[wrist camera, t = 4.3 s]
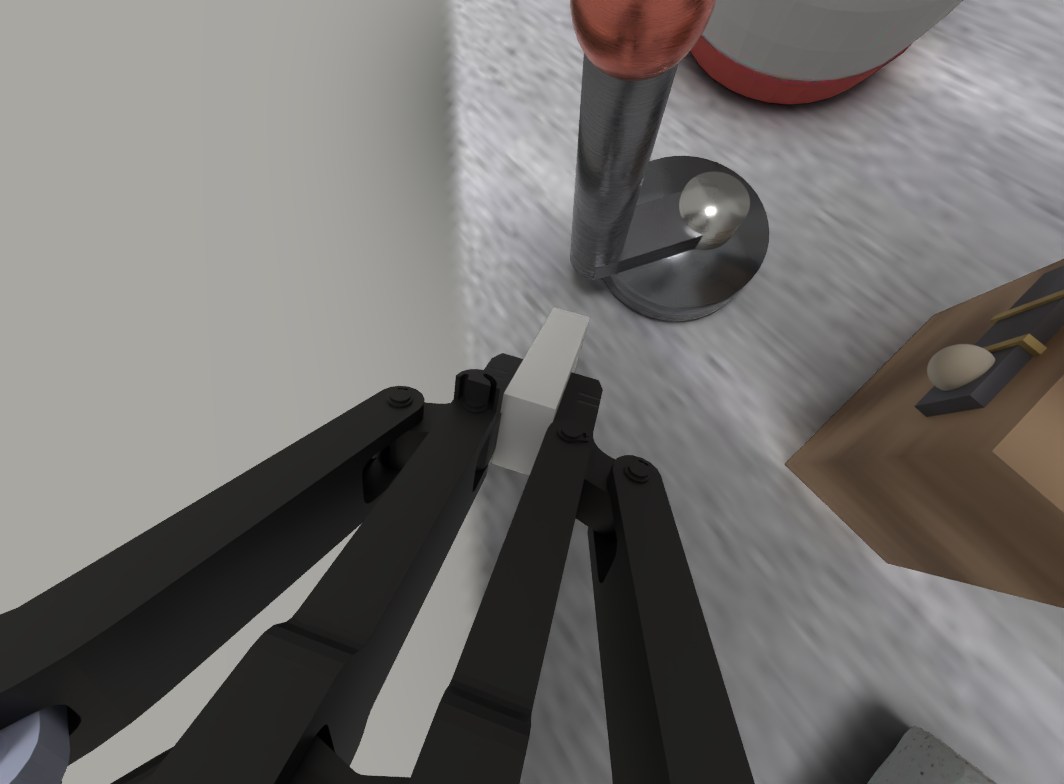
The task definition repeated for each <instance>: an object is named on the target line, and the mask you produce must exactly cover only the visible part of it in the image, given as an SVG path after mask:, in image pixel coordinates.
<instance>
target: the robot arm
mask: <svg viewBox="0 0 1064 784" xmlns="http://www.w3.org/2000/svg"><path fill="white" fill-rule="evenodd" d="M589 319H590V317H588V316H584V315H581V314H577V313H574V312H570V311H566V310H563V309H559V308H556V307H554V308H553V309H552V311H551V313H550V315H549V316H548V318H547V320H546V321H545V323H544V325H543V327H542V328H541V330H540V332H539V333H538V335H537V337H536V339H535V340H534V342H533V344H532V346H531V347H530V349H529V351H528V352H527V354H526V356H525V358H524V359H521V358H517V357H514V356H510V355H507V354H504V353H502V354H500V355H498V356H496V357H494V358H492V359H491V361H490V362H489V363H488V365H487V367H486V368H485V369H484V370H479V369H471V370H465V371H462V372H460V373H459V374H458V375H456V381H455V392H454V400H453V401H452V402H451V403H448V404H435V403H434V404H433V403H424V397H423V395H422V393H420V392H419V391H418V390H416V389H413V388H410V387H406V386H395V387H390V388H387V389H384V390H382V391H380V392H379V393H377V394H375V395H374V396H372V397H370V398H369V399H367V400H365V401H363V402H362V403H360V404H358V405H357V406H355V407H354V408H352V409H350V410H348V411H347V412H345V413H343V414H342V415H340V416H339V417H337V418H335V419H333V420H332V421H330V422H328V423H327V424H325V425H323V426H322V427H320V428H318V429H317V430H315V431H313V432H312V433H310V434H308V435H307V436H305V437H303V438H301V439H300V440H298V441H296V442H295V443H293V444H291V445H290V446H288V447H286V448H285V449H283V450H282V451H280V452H278V453H276V454H275V455H273V456H272V457H270V458H268V459H266V460H265V461H263V462H261V463H260V464H258V465H256V466H255V467H253V468H251V469H250V470H248V471H246V472H245V473H243V474H241V475H239V476H238V477H236V478H234V479H233V480H231V481H230V482H228V483H226V484H224V485H223V486H221V487H219V488H218V489H216V490H214V491H213V492H211V493H209V494H208V495H206V496H204V497H203V498H201V499H199V500H198V501H196V502H194V503H192V504H191V505H189V506H188V507H186V508H184V509H182V510H181V511H179V512H177V513H176V514H174V515H173V516H171V517H169V518H167V519H166V520H164V521H162V522H161V523H159V524H157V525H156V526H154V527H152V528H151V529H149V530H147V531H146V532H144V533H142V534H141V535H139V536H137V537H135V538H134V539H132V540H130V541H129V542H127V543H125V544H124V545H122V546H120V547H119V548H117V549H115V550H114V551H112V552H110V553H109V554H107V555H105V556H104V557H102V558H100V559H99V560H97V561H96V562H94V563H92V564H90V565H89V566H87V567H85V568H83V569H82V570H80V571H79V572H77V573H75V574H74V575H72V576H70V577H68V578H67V579H65V580H64V581H62V582H60V583H58V584H57V585H55V586H54V587H52V588H50V589H48V590H47V591H45V592H43V593H42V594H40V595H38V596H37V597H35V598H33V599H32V600H30V601H28V602H27V603H25V604H23V605H21V606H20V607H18V608H16V609H13V610H11V611H8V612H6V613H3V614H1V615H0V784H62V778H63V775H64V773H65V771H66V769H67V766H69V765H70V764H72V763H73V762H75V761H77V760H78V759H79V758H81V757H83V756H84V755H86V754H88V753H89V752H91V751H93V750H94V749H95V748H97V747H98V746H100V745H101V744H103V743H104V742H105V741H107V740H108V739H109V738H111V737H112V736H114V735H115V734H116V733H118V732H119V731H121V730H122V729H123V728H125V727H126V726H128V725H129V724H131V723H132V722H133V721H134V720H136V719H137V718H138V717H139V716H140V715H142V714H143V713H144V712H145V711H147V710H148V709H149V708H150V707H151V706H153V705H154V704H155V703H156V702H157V701H159V700H160V699H161V698H162V697H164V696H165V695H166V694H167V693H168V692H169V691H171V690H172V689H173V688H174V687H175V686H176V685H177V684H178V683H180V682H181V681H182V680H183V679H184V678H185V677H187V676H188V675H189V674H190V673H191V672H192V671H193V670H195V669H196V668H197V667H198V666H199V665H200V664H201V663H203V662H204V661H205V660H206V659H207V658H208V657H209V656H210V655H212V654H213V653H214V652H215V651H216V650H217V649H219V647H221V646H222V645H223V644H224V643H225V642H227V641H228V640H229V639H230V638H231V637H232V636H233V635H235V634H236V633H237V632H238V631H239V630H240V629H241V628H243V627H244V626H245V625H246V624H247V623H248V622H249V621H251V620H252V619H253V618H254V617H255V616H256V615H257V614H259V613H260V612H261V611H262V610H263V609H264V608H265V607H267V606H268V605H269V604H270V603H271V602H272V601H273V600H275V599H276V598H277V597H278V596H279V595H280V594H281V593H283V592H284V591H285V590H286V589H287V588H288V587H289V586H291V585H292V584H293V583H294V582H295V581H296V580H297V579H299V578H300V577H301V576H302V575H303V574H304V573H305V572H307V570H309V569H310V568H311V567H312V566H313V565H315V564H316V563H317V562H318V561H319V560H320V559H321V558H323V557H324V556H325V555H326V554H327V553H328V552H329V551H331V550H332V549H333V548H334V547H335V546H336V545H337V544H339V543H340V542H341V541H342V540H343V539H344V538H345V537H347V536H348V535H349V534H350V533H351V532H352V531H353V530H354V529H356V528H357V527H358V526H359V525H360V524H361V523H362V524H361V526H360V527H359V528H358V530H357V531H356V532H355V534H354V535H353V536H352V538H351V539H350V540H349V542H348V543H347V544H346V546H345V547H344V549H343V550H342V551H341V553H340V554H339V555H338V557H337V558H336V560H335V561H334V562H333V563H332V565H331V566H330V568H329V569H328V571H327V572H326V573H325V574H324V576H323V577H322V578H321V580H320V581H319V582H318V584H317V585H316V587H315V588H314V589H313V591H312V592H311V593H310V595H309V596H308V597H307V599H306V600H305V602H304V603H303V604H302V605H301V607H300V608H299V610H298V611H297V612H296V613H295V614H294V615H293V617H292V618H291V619H289V620H288V621H287V622H284V623H280V624H276V625H273V626H272V627H271V628H269V629H268V630H267V631H265V632H264V633H263V634H262V635H261V636H260V637H259V639H258V640H257V641H256V642H255V643H254V644H253V645H252V647H251V648H250V649H249V651H248V652H247V653H246V654H245V656H244V657H243V659H242V660H241V661H240V662H239V663H238V665H237V666H236V667H235V669H234V670H233V671H232V672H231V674H230V675H229V676H228V678H227V679H226V680H225V681H224V683H223V684H222V685H221V687H220V688H219V689H218V690H217V692H216V693H215V694H214V696H213V697H212V698H211V699H210V701H209V702H208V704H207V705H206V706H205V707H204V709H203V710H202V711H201V713H200V714H199V715H198V716H197V718H196V719H195V720H194V721H193V723H192V724H191V725H190V727H189V728H188V729H187V731H186V732H185V733H184V734H183V736H182V737H181V738H180V739H179V741H178V742H177V743H176V745H175V746H174V747H172V748H170V749H169V750H167V751H165V752H163V753H161V754H160V755H158V756H156V757H155V758H153V759H151V760H150V761H148V762H146V763H144V764H143V765H141V766H140V767H138V768H136V769H134V770H133V771H131V772H129V773H128V774H126V775H124V776H123V777H121V778H119V779H118V780H116V781H114V782H113V783H111V784H519V782H520V778H521V773H522V768H523V764H524V759H525V755H526V750H527V745H528V740H529V735H530V728H531V713H532V708H533V703H534V699H535V694H536V690H537V685H538V681H539V676H540V672H541V668H542V663H543V659H544V654H545V650H546V645H547V641H548V637H549V632H550V628H551V623H552V619H553V615H554V610H555V606H556V601H557V597H558V592H559V588H560V584H561V579H562V575H563V570H564V566H565V562H566V557H567V553H568V548H569V544H570V539H571V535H572V531H573V526H574V522H575V518H576V519H578V520H579V521H581V522H582V523H584V524H585V525H587V526H588V540H589V550H590V560H591V570H592V580H593V590H594V600H595V610H596V620H597V630H598V640H599V650H600V660H601V669H602V679H603V689H604V699H605V709H606V719H607V729H608V739H609V749H610V759H611V769H612V779H613V784H755V783H754V780H753V777H752V773H751V770H750V767H749V763H748V760H747V757H746V754H745V750H744V747H743V744H742V740H741V737H740V734H739V731H738V727H737V724H736V721H735V717H734V714H733V711H732V708H731V704H730V701H729V698H728V694H727V691H726V688H725V685H724V681H723V678H722V675H721V671H720V668H719V665H718V662H717V658H716V655H715V652H714V648H713V645H712V642H711V639H710V635H709V632H708V629H707V626H706V622H705V619H704V616H703V612H702V609H701V606H700V603H699V599H698V596H697V593H696V589H695V586H694V583H693V580H692V576H691V573H690V570H689V566H688V563H687V560H686V557H685V553H684V550H683V547H682V543H681V540H680V537H679V534H678V530H677V527H676V524H675V520H674V517H673V514H672V511H671V507H670V504H669V501H668V497H667V494H666V491H665V488H664V484H663V481H662V478H661V475H660V473H659V472H658V470H657V469H656V468H655V467H654V466H653V465H652V464H651V463H650V462H648V461H646V460H644V459H643V458H640V457H636V456H633V455H624V456H621V457H619V458H617V459H616V460H615V459H613V458H611V457H609V456H608V455H606V454H605V453H603V452H602V451H601V450H600V449H599V448H598V447H597V445H596V444H595V442H594V439H593V430H594V426H595V422H596V417H597V413H598V408H599V404H600V399H601V395H602V391H603V389H602V387H601V385H600V382H599V380H596V379H592V378H589V377H585V376H582V375H579V374H575V373H574V372H575V369H576V365H577V362H578V358H579V355H580V351H581V347H582V344H583V340H584V337H585V333H586V330H587V326H588V323H589ZM492 455H493V458H492V464H494V465H497V466H501V467H504V468H507V469H510V470H513V471H516V472H519V473H522V474H525V475H528V476H529V478H528V481H527V483H526V486H525V489H524V491H523V494H522V497H521V499H520V502H519V504H518V507H517V510H516V512H515V515H514V518H513V520H512V523H511V525H510V528H509V531H508V533H507V536H506V539H505V541H504V544H503V546H502V549H501V552H500V554H499V557H498V560H497V562H496V565H495V567H494V570H493V573H492V575H491V578H490V581H489V583H488V586H487V588H486V591H485V594H484V596H483V599H482V602H481V604H480V607H479V610H478V612H477V615H476V617H475V620H474V623H473V625H472V628H471V631H470V633H469V636H468V638H467V641H466V644H465V646H464V649H463V652H462V654H461V657H460V660H459V662H458V665H457V668H456V670H455V673H454V675H453V678H452V680H451V682H450V684H449V686H448V687H447V689H446V690H445V693H444V694H443V697H442V699H441V701H440V703H439V706H438V708H437V711H436V713H435V716H434V718H433V721H432V723H431V726H430V729H429V731H428V734H427V736H426V739H425V742H424V744H423V747H422V749H421V752H420V755H419V757H418V760H417V762H416V765H415V767H414V770H413V773H412V775H411V778H409V777H387V776H367V775H360V774H358V773H356V772H355V771H354V770H353V769H351V768H350V767H349V766H350V764H351V762H352V760H353V758H354V755H355V753H356V751H357V749H358V746H359V744H360V741H361V738H362V735H363V733H364V729H365V726H366V723H367V719H368V716H369V714H370V711H371V709H372V706H373V704H374V702H375V700H376V698H377V696H378V694H379V692H380V690H381V688H382V686H383V684H384V682H385V680H386V678H387V676H388V674H389V672H390V669H391V668H392V665H393V663H394V661H395V659H396V657H397V655H398V653H399V651H400V649H401V647H402V645H403V643H404V641H405V639H406V637H407V635H408V633H409V631H410V629H411V627H412V625H413V623H414V620H415V618H416V617H417V615H418V613H419V611H420V608H421V607H422V605H423V603H424V600H425V598H426V596H427V594H428V592H429V590H430V588H431V586H432V584H433V582H434V580H435V578H436V576H437V574H438V572H439V570H440V568H441V566H442V564H443V562H444V560H445V558H446V556H447V554H448V552H449V550H450V548H451V546H452V544H453V542H454V540H455V538H456V535H457V533H458V531H459V529H460V527H461V525H462V523H463V521H464V519H465V517H466V515H467V513H468V511H469V509H470V507H471V505H472V503H473V501H474V499H475V497H476V495H477V493H478V491H479V489H480V487H481V485H482V483H483V481H484V479H485V477H486V473H487V468H488V463H489V461H490V459H491V457H492Z"/></svg>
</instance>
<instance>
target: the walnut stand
mask: <svg viewBox="0 0 1064 784" xmlns="http://www.w3.org/2000/svg"><path fill="white" fill-rule="evenodd" d="M785 465H786V466H787V467H788V468H789V469H790V470H791V471H792V472H793V473H794V474H795V475H796V476H797V477H798V478H799V479H801V480H802V481H803V482H804V483H805V484H806V485H807V486H808V487H809V488H810V489H811V490H812V491H813V492H814V493H815V494H816V495H817V496H818V497H819V498H820V499H821V500H822V501H823V502H824V503H825V504H826V505H828V506H829V507H830V508H831V509H832V510H833V511H834V512H835V513H836V514H837V515H838V516H839V517H840V518H841V519H842V520H843V521H844V522H845V523H846V524H847V525H848V526H849V527H850V528H851V529H852V530H853V531H855V532H856V533H857V534H858V535H859V536H860V537H861V538H862V539H863V540H864V541H865V542H866V543H867V544H868V545H869V546H870V547H871V548H872V549H873V550H874V551H875V552H876V553H877V554H878V555H879V556H880V557H881V558H883V559H884V560H885V561H886V562H887V563H889V564H893V565H896V566H900V567H904V568H908V569H912V570H916V571H920V572H924V573H928V574H932V575H936V576H940V577H944V578H948V579H952V580H955V581H959V582H963V583H967V584H971V585H975V586H979V587H983V588H987V589H991V590H995V591H999V592H1003V593H1007V594H1011V595H1015V596H1018V597H1022V598H1026V599H1030V600H1034V601H1038V602H1042V603H1046V604H1050V605H1054V606H1058V607H1062V608H1064V259H1063V260H1060V261H1058V262H1056V263H1053V264H1051V265H1049V266H1046V267H1044V268H1042V269H1039V270H1037V271H1035V272H1033V273H1030V274H1028V275H1026V276H1023V277H1021V278H1019V279H1016V280H1014V281H1012V282H1009V283H1007V284H1005V285H1002V286H1000V287H998V288H995V289H993V290H991V291H989V292H986V293H984V294H982V295H979V296H977V297H975V298H972V299H970V300H968V301H965V302H963V303H961V304H958V305H956V306H954V307H951V308H949V309H947V310H945V311H942V312H940V313H938V314H935V315H934V316H933V317H932V318H931V319H930V320H929V321H928V322H927V323H926V324H925V325H924V326H923V327H922V328H921V329H920V330H919V331H918V332H917V333H916V334H915V335H914V336H913V337H912V338H911V339H910V340H909V341H908V342H907V343H906V344H905V345H904V346H903V347H902V348H901V349H900V350H899V351H898V352H897V353H896V354H895V355H894V356H893V357H892V358H891V359H890V360H889V361H888V362H887V363H886V364H885V365H884V366H883V367H882V368H881V369H880V370H879V371H878V372H877V373H876V374H875V375H874V376H873V377H872V378H871V379H870V380H869V381H867V382H866V383H865V384H864V385H863V386H862V387H861V388H860V389H859V390H858V391H857V392H856V393H855V394H854V395H853V396H852V397H851V398H850V399H849V400H848V401H847V402H846V403H845V404H844V405H843V406H842V407H841V408H840V409H839V410H838V411H837V412H836V413H835V414H834V415H833V416H832V417H831V418H830V419H829V420H828V421H827V422H826V423H825V424H824V425H823V426H822V427H821V428H820V429H819V430H818V431H817V432H816V433H815V434H814V435H813V436H812V437H811V438H810V439H809V440H808V441H807V442H806V443H805V444H804V445H803V446H802V447H801V448H800V449H799V450H798V451H797V452H796V453H795V454H794V455H793V456H792V457H791V458H790V459H789V460H788V461H787V462H786V463H785Z"/></svg>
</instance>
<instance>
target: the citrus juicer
mask: <svg viewBox="0 0 1064 784" xmlns="http://www.w3.org/2000/svg"><path fill="white" fill-rule="evenodd" d="M962 1H963V0H716V3H715V7H714V10H713V12H712V15H711V17H710V20H709V22H708V24H707V26H706V28H705V30H704V32H703V33H702V35H701V37H700V38H699V40H698V41H697V43H696V44H695V45H694V47H693V48H692V49H691V53H692V54H693V56H694V57H695V59H696V60H697V62H698V64H699V65H700V66H701V67H702V68H703V69H704V70H705V71H706V72H707V73H708V74H709V75H710V76H711V77H712V78H713V79H715V80H716V81H718V82H719V83H721V84H722V85H724V86H725V87H727V88H728V89H730V90H732V91H735V92H737V93H739V94H741V95H744V96H746V97H749V98H753V99H756V100H760V101H763V102H769V103H780V104H800V103H811V102H815V101H819V100H823V99H827V98H830V97H833V96H835V95H837V94H840V93H842V92H844V91H846V90H848V89H850V88H851V87H853V86H855V85H856V84H858V83H859V82H861V81H863V80H864V79H866V78H867V77H869V76H870V75H872V74H873V73H875V72H876V71H877V70H879V69H880V68H882V67H883V66H885V65H886V64H888V63H889V62H891V61H892V60H893V59H895V58H896V57H898V56H899V55H901V54H902V53H903V52H904V51H905V50H906V49H907V48H908V47H909V46H910V45H911V44H912V43H913V42H914V41H915V40H916V39H918V38H919V37H920V36H922V35H923V34H924V33H925V32H927V31H928V30H929V29H930V28H932V27H933V26H934V25H935V24H937V23H938V22H939V21H940V20H942V19H943V18H944V17H946V16H947V15H948V14H949V13H950V12H951V11H952V10H953V9H954V8H955V7H956V6H957V5H959V4H960V3H961V2H962Z"/></svg>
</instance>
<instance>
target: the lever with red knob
mask: <svg viewBox="0 0 1064 784" xmlns="http://www.w3.org/2000/svg"><path fill="white" fill-rule="evenodd" d="M715 3H716V0H570V8H571V15H572V22H573V27H574V30H575V33H576V36H577V39H578V41H579V44H580V46H581V48H582V50H583V52H584V61H583V76H582V91H581V105H580V120H579V134H578V149H577V164H576V178H575V193H574V208H573V222H572V237H571V252H570V259H571V263H572V265H573V267H574V269H575V270H576V271H577V272H578V273H579V274H581V275H582V276H584V277H587V278H591V279H593V281H594V280H597V279H601V278H604V280H605V282H606V284H607V285H608V287H609V288H610V290H611V291H612V292H613V293H614V294H615V296H616V297H617V298H619V299H620V300H621V301H622V302H623V303H624V304H626V305H627V306H628V307H630V308H631V309H633V310H635V311H637V312H639V313H641V314H643V315H646V316H648V317H651V318H655V319H659V320H666V321H686V320H693V319H697V318H701V317H704V316H706V315H709V314H711V313H713V312H715V311H717V310H718V309H720V308H721V307H723V306H724V305H726V304H727V303H728V302H729V301H730V300H731V299H732V298H733V297H734V296H735V295H736V294H737V293H738V292H739V291H740V290H741V289H742V288H743V287H744V286H745V285H746V284H747V283H748V282H749V281H750V280H751V279H752V278H753V276H754V275H755V274H756V272H757V271H758V270H759V268H760V266H761V264H762V262H763V260H764V257H765V255H766V252H767V247H768V243H769V226H768V220H767V215H766V212H765V209H764V207H763V204H762V202H761V201H760V199H759V197H758V195H757V194H756V193H755V191H754V190H753V189H752V187H751V186H750V185H749V184H748V183H747V182H746V181H745V180H744V179H743V178H742V177H740V176H739V175H738V174H737V173H735V172H734V171H732V170H730V169H729V168H727V167H725V166H723V165H721V164H719V163H717V162H714V161H711V160H708V159H703V158H699V157H691V156H672V157H665V158H661V159H656V160H653V161H650V157H651V154H652V151H653V147H654V144H655V140H656V137H657V134H658V130H659V127H660V124H661V120H662V117H663V113H664V110H665V107H666V103H667V100H668V97H669V93H670V90H671V87H672V83H673V80H674V76H675V73H676V70H677V66H678V63H679V62H680V61H681V60H682V59H683V58H684V57H685V56H686V55H687V54H688V53H689V52H690V51H691V49H692V48H693V47H694V45H695V44H696V43H697V41H698V40H699V38H700V37H701V35H702V33H703V32H704V30H705V28H706V26H707V24H708V22H709V20H710V17H711V15H712V12H713V10H714V7H715ZM649 161H650V162H649Z"/></svg>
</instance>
